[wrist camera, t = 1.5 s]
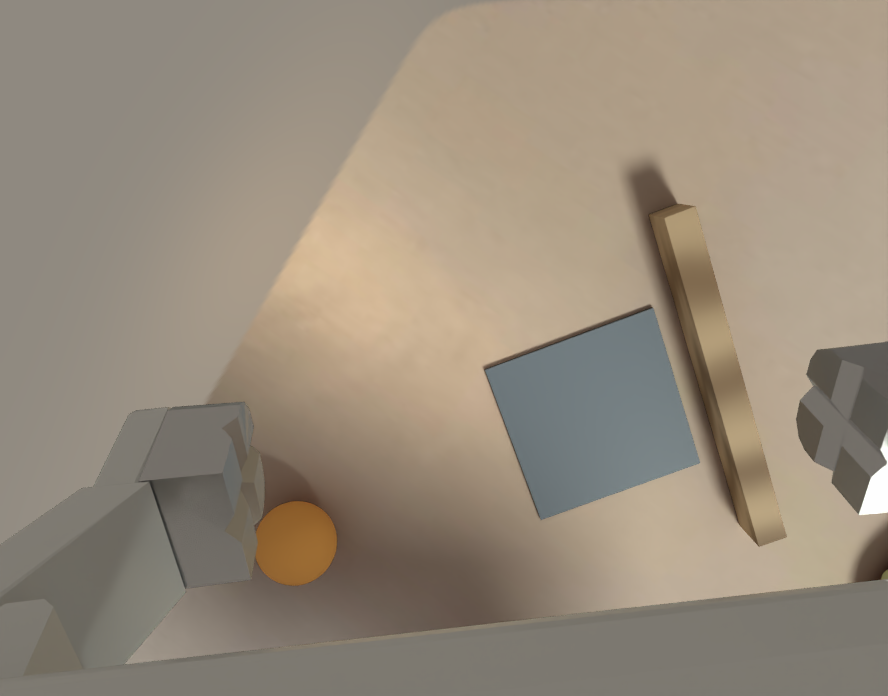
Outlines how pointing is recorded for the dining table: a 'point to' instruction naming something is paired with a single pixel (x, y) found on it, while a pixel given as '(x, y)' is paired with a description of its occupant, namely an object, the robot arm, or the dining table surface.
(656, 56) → the dining table surface
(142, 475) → the robot arm
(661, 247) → the rail
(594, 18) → the dining table surface
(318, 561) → the ball
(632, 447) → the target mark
